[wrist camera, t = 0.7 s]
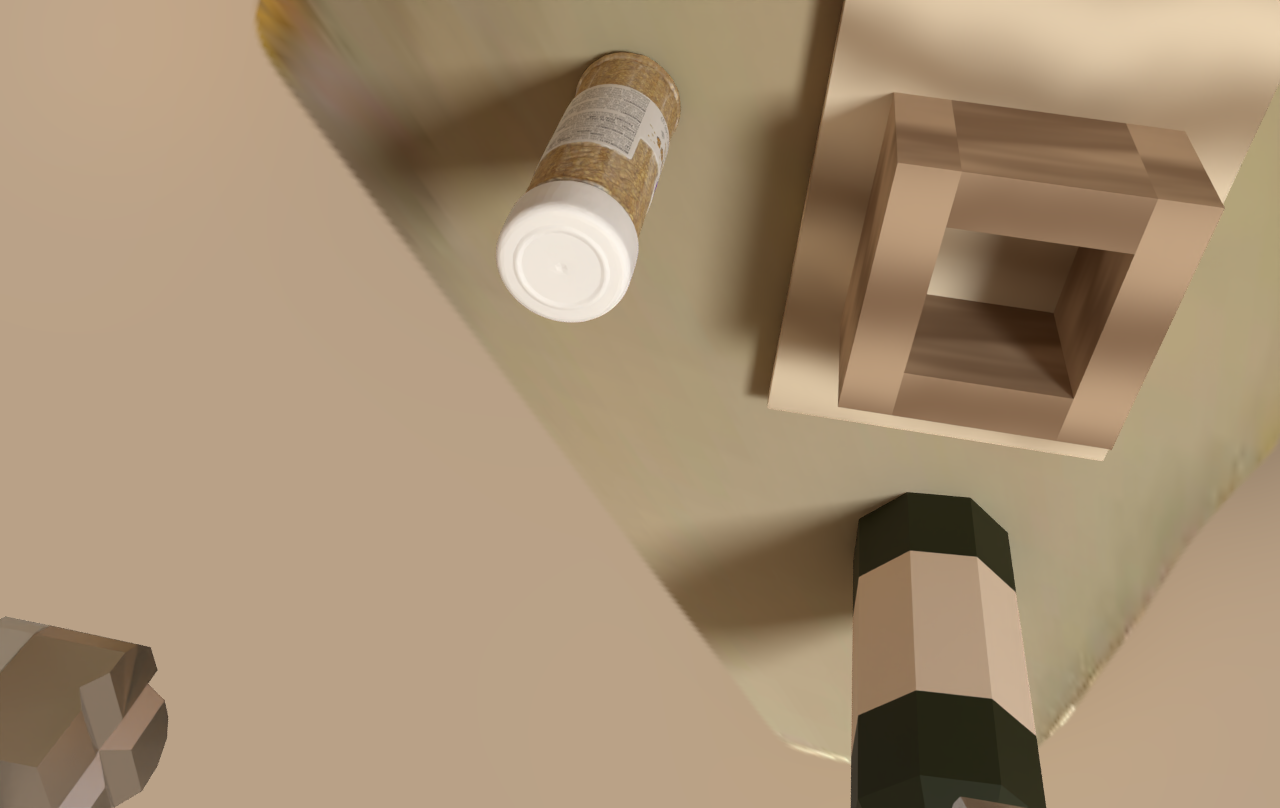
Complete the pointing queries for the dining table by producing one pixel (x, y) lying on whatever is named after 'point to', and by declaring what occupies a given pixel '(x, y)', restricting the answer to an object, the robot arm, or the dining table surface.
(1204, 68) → the holder board
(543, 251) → the sprinkles bottle
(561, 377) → the dining table surface
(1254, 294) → the dining table surface
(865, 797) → the wine bottle
